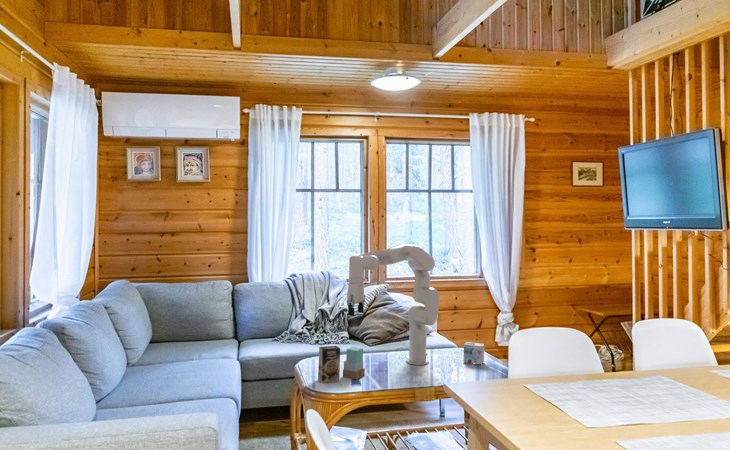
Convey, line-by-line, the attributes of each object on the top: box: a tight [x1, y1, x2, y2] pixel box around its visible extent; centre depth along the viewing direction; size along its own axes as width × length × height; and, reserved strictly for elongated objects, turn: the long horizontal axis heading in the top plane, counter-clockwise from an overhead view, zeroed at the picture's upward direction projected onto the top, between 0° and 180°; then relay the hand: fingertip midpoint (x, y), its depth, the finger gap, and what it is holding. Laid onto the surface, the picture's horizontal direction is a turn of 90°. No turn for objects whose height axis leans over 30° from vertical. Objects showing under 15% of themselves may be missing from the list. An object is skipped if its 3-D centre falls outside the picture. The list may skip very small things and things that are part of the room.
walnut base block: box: [342, 367, 366, 381], centre depth 244 cm, size 8×8×4 cm
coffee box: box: [317, 345, 341, 384], centre depth 237 cm, size 9×6×16 cm
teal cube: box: [345, 346, 364, 363], centre depth 245 cm, size 6×6×6 cm
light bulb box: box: [462, 341, 485, 365], centre depth 275 cm, size 11×7×11 cm, turn 68°
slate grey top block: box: [343, 359, 364, 372], centre depth 245 cm, size 7×7×4 cm
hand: (356, 314), depth 247 cm, fingers open, 9 cm apart
